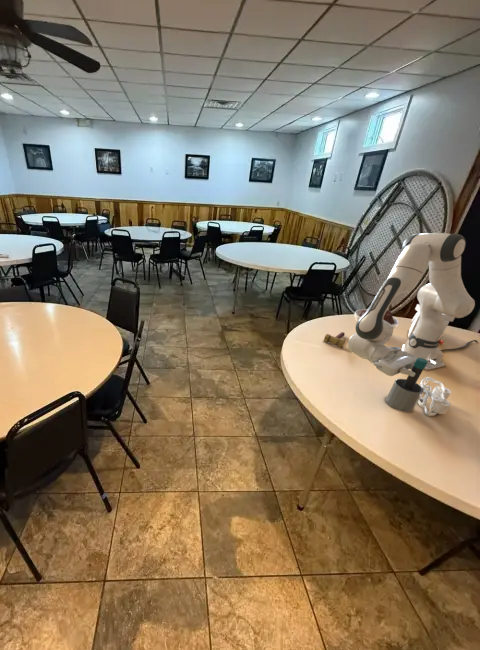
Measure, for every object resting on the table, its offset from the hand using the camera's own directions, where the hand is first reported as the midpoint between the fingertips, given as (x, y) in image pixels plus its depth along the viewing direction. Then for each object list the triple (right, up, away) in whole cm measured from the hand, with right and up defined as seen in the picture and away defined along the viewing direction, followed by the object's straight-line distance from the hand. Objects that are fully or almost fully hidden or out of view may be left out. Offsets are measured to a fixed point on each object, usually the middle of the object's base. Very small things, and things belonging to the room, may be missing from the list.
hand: (418, 373), depth 122 cm
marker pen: (-1, -5, +4) cm, 7 cm away
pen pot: (-2, -13, +9) cm, 16 cm away
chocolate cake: (+24, +25, +75) cm, 83 cm away
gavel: (-4, +18, +60) cm, 63 cm away
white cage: (+12, -13, +11) cm, 21 cm away
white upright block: (+57, +23, +76) cm, 98 cm away
